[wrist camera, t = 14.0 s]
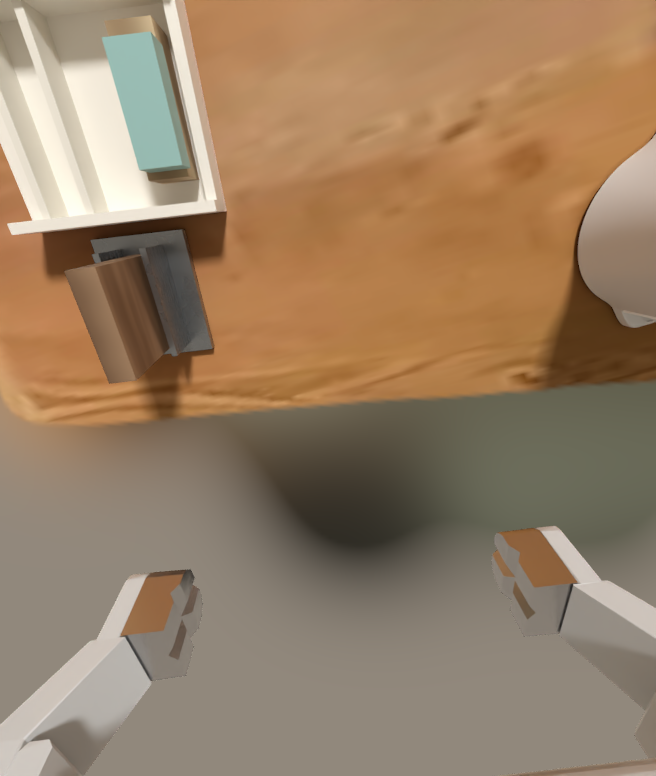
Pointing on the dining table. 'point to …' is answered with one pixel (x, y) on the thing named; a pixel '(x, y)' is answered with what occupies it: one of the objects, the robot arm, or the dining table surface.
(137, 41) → the teal offcut
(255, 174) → the dining table surface
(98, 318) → the walnut board
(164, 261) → the stand
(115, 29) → the oak offcut
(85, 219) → the rack
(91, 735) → the robot arm
